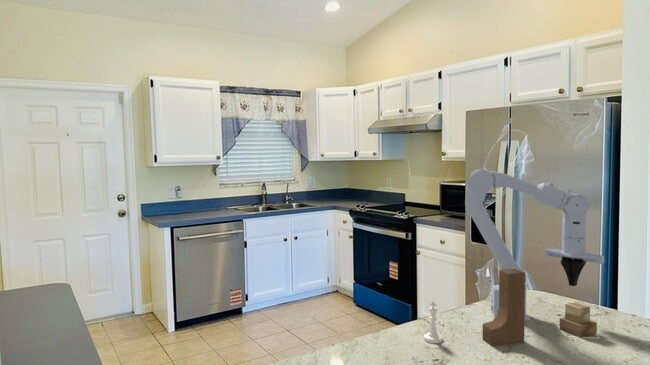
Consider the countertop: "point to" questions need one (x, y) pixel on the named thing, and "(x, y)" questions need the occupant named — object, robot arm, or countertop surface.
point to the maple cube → (577, 312)
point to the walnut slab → (578, 328)
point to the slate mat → (576, 336)
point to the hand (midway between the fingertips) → (572, 285)
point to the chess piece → (433, 327)
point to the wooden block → (508, 311)
